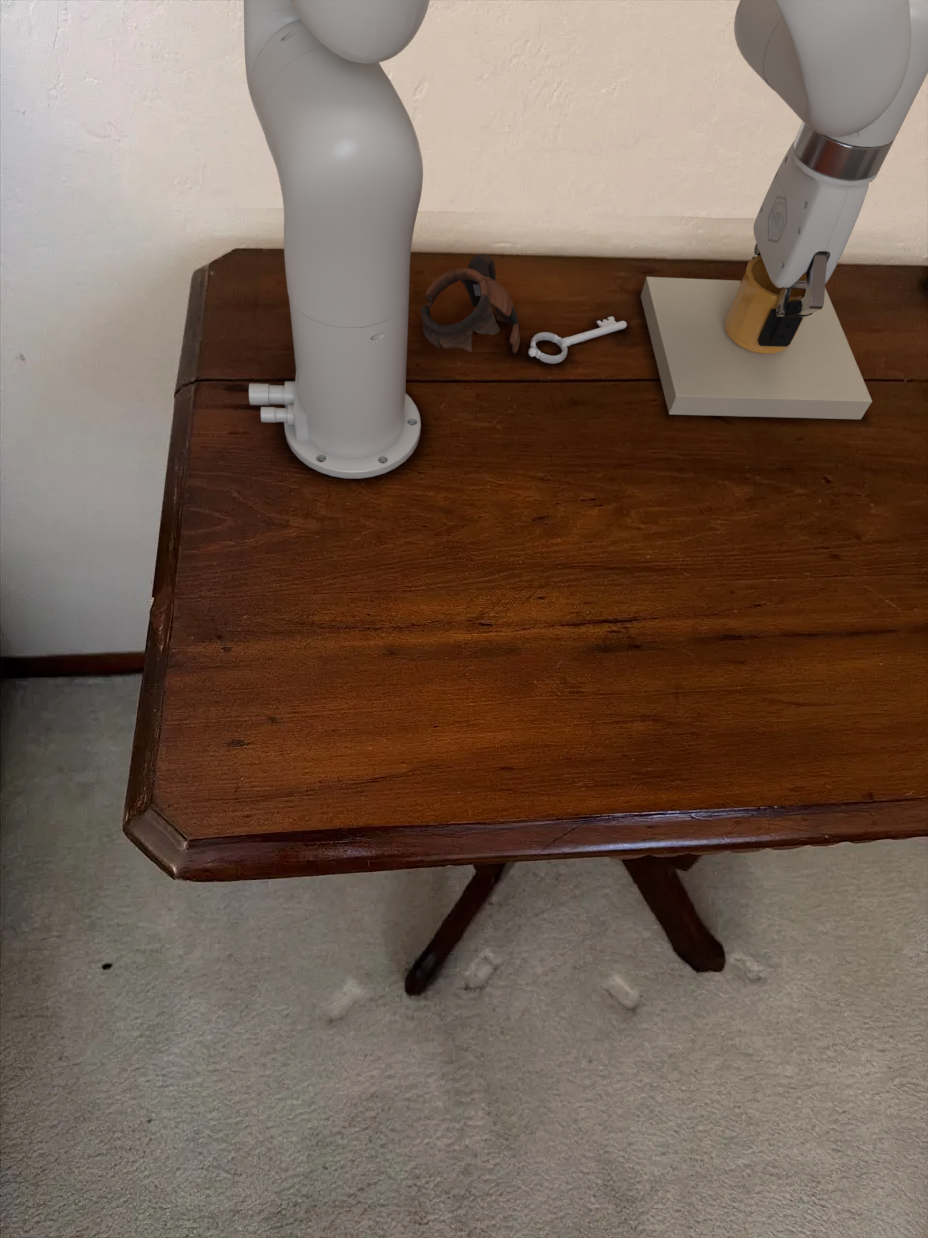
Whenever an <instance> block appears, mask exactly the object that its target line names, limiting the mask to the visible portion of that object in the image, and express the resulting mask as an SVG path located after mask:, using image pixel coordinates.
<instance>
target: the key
mask: <svg viewBox="0 0 928 1238" xmlns="http://www.w3.org/2000/svg"><path fill="white" fill-rule="evenodd" d="M596 324H597V325H598V328H595V329H590V330H587V331H584V332H580V333H577V334H572V335H571V336H566V337H563V338H562V337H561V336H558V335H557V334H555V333H553V332H548V331H543V332H542V331H541V332H538V333H536V334H535V335H533V337H531V340H530V342H529V343H530V345H529V349H528V352H527V353H528V355H529V357H530V358H534V357H535V358H537V359H539V360H540V361H541V362H543V363H546V364H552V365H553V364H558V363H562V362H563V361H564V360H565V359H566V358H567V356H568V347H570V346H571V345H576V344H578V343H582V342H585V341H588V340H591V339H595V338H598V337H600V336H605V335H608V334H611V333H614V332H617V331H620V330H624V329H625V328H626V327H627V326H628V325H627V324H628V323H627V322H626V321H625V320H619V321H616V320H615V317H614V316H608V317H607V318H606V319H602V321H601V320H596ZM541 341H549V342H551V343H555V344H556V345H557V346H558V347H560V350H561V353H559V354H555V355H552V354H551V355H550V354H547V353H544V352H542V351H541V350H539V348H538V347H537V343H538V342H541Z"/></svg>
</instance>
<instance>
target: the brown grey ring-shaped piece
mask: <svg viewBox="0 0 928 1238" xmlns="http://www.w3.org/2000/svg"><path fill="white" fill-rule="evenodd" d="M496 273H497V272H496V264H495V260H494V259H493V258H492V256H490V255H488V254H487V253H481V254H476V255H474V256H473V257H472V258H471V259H470V260H469V262H468V265H467V267H460V268H455V269H452V270H449V271H447V272H445V273H444V274H443V273H442V274H441V275H440V276H439V277H438V278H437V279H436V280H434V281H433V282H432V283H431V284H430V285H429V287H428V288H427V290H426V291H425V293H424V297H425V298H426V300H427V303H425V304H424V305H423V306H422V307H421V309H420V310H419V311H420V312H419V313H420V317H421V320H422V334H423V336H424V337H425V339H426V340H427V341H428V342H429V343H430V344H431V345H433V346H434V347H436V348H439V349H440V348H443V349H445V350H451V349H462V350H464V351H466V352H470V353H473V351H474V350H473V334H474V332H475V333H476V334H479V335H490V336H494V335H496V334H498V333H499V332H500V330H501V328H500V325H499V324H498V323H497V321H500V322H503V323H505V324H507V325H509V326H510V327H511V328H512V329H511V333H510V337H509V344H510V345H511V351H512V353H513V354H516V353H517V352H518V350H519V347H520V343H521V335H520V322H519V318H518V314H517V311H516V308H515V305H514V303H513V300H512V297H510V295H509V294H508V292H507V291H506V289H505V288H504V287H503V286H502V285H501V284H500V283H499V282H498V281H496V277H497V276H496ZM459 281H460V282H461V283H462V285H463V287H464V288H465V290H466V291H467V293H468V296H469V299H470V302H471V306H472V307H474V309H473V310H472V312H471V313H470V314H469V315H468V316H466V317H465V318H464V319H463V320H461V321H458V322H455V323H452V324H440V323H438V322H436V321H434V320H433V318H432V316H431V310H432V309H431V308H432V306H433V304H434V302H435V301H436V299H437V298H438V297H439V296H440V294H441V293H442V292H443V291H444V290H446V289H447V288H449V287H450V286H451V285H454V284H456V283H457V282H459ZM492 307H494V311H495V313H496V316H495V314H494V311H493V308H492Z"/></svg>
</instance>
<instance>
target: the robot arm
mask: <svg viewBox="0 0 928 1238" xmlns="http://www.w3.org/2000/svg"><path fill="white" fill-rule="evenodd" d="M430 1H431V0H243V33H244V34H243V39H244V40H243V41H244V42H243V43H244V46H243V47H244V64H245V76H246V84H247V88H248V89H247V90H248V94H249V96H250V100H251V103H252V106H253V109H254V111H255V114H256V116H257V119H258V122H259V125H260V127H261V129H262V132H263V135H264V138H265V141H266V145H267V147H268V150H269V152H270V154H271V155H270V156H271V157H272V160H273V163H274V165H275V168H276V172H277V177H278V180H279V185H280V191H281V197H282V205H283V256H284V271H285V279H286V290H287V296H288V302H289V303H288V304H289V312H290V314H289V315H290V323H291V332H292V333H291V334H292V343H293V344H292V345H293V353H294V354H293V355H294V363H295V379H294V380H293V381H291V380H290V381H289V380H286V381H284V385H280V384H279V385H277V384H270V383H255V382H253V383H252V382H249V384H248V401H249V402H248V403H249V405H250V406H261V407H260V421H261V423H283V426H284V427H283V428H284V435H285V438H286V439H285V440H286V443H287V444H288V446H289V448H290V450H291V452H292V453H293V454H294V455H295V456H296V457H297V458H298V460H300V461H301V462H302V463H303V464H304V465H306V466H307V467H309V468H311V469H313V470H315V471H316V472H319V473H321V474H325V475H327V476H330V477H333V478H334V477H336V478H341V479H365V478H374V477H377V476H381V475H383V474H384V475H385V474H387V473H388V472H390V471H392V470H395V469H397V468H398V467H400V466H401V465H402V464H403V463H405V462H406V461H407V460H408V459H409V458H410V457H411V456H412V455H413V453H414V452H415V450H416V448H417V447H418V444H419V440H420V437H421V430H422V429H421V428H422V425H421V423H422V422H421V416H420V412H419V409H418V407H417V405H416V403H415V402H414V400H413V398H412V397H411V396H409V394H407V392H406V390H407V389H406V388H407V387H406V386H407V362H408V361H407V360H408V359H407V358H408V336H409V335H408V333H409V309H410V308H409V307H410V306H409V305H410V274H411V273H410V272H411V257H412V256H411V254H412V245H413V236H414V230H415V226H416V220H417V217H418V213H419V207H420V202H421V198H422V191H423V182H424V165H423V156H422V151H421V146H420V142H419V139H418V136H417V133H416V130H415V127H414V125H413V122H412V120H411V117H410V115H409V113H408V110H407V109H406V107H405V104H404V102H403V101H402V99H401V98H400V96H399V94H398V92H397V90H396V88H395V87H394V85H393V83H392V81H391V79H390V77H388V75H387V73H386V72H385V70H384V69H383V67H382V66H381V64H380V63H383V62H386V61H388V60H391V59H392V58H394V57H396V56H397V55H399V54H400V53H402V51H404V50H405V49H406V48H407V47H408V46H409V45H410V43H411V42H412V41H413V40H414V38H415V37H416V35H417V33H418V32H419V31H420V28H421V26H422V24H423V21H424V20H425V17H426V15H427V12H428V9H429V5H430ZM733 32H734V33H733V34H734V40H735V43H736V46H737V48H738V50H739V52H740V54H741V56H742V58H743V59H744V60H745V62H746V63H747V64H748V66H749V67H750V68H751V69H752V70H753V71H754V73H756V75H758V76H759V78H760V79H761V80H763V82H765V84H766V85H767V86H768V87H769V88H770V89H771V90H773V91H774V92H775V93H776V94H777V95H778V96H779V97H780V99H782V100H783V102H784V103H785V104H786V105H787V106H788V107H789V108H790V109H791V110H792V111H793V113H795V115H796V116H797V117H798V118H799V119H800V120H801V122H800V126H799V128H798V130H797V133H796V136H795V139H794V140H793V142H792V143H791V144H790V146H789V148H788V150H787V151H786V153H785V155H784V156H783V159H782V161H781V163H780V164H779V166H778V168H777V170H776V172H775V175H774V176H773V179H772V180H771V183H770V185H769V187H768V190H767V192H766V193H765V196H764V199H763V201H762V203H761V205H760V208H759V210H758V212H757V215H756V217H755V220H754V223H753V236H754V239H755V242H756V243H755V245H754V248H753V249H754V250H753V252H754V256H752V257H751V260H752V259H753V258H755V257H756V256H759V255H761V257H762V259H763V262H764V265H765V267H766V270H767V273H768V275H769V277H770V279H771V281H772V283H773V284H774V285H775V286H776V287H777V288H781V289H780V294H779V299H778V303H777V308H776V309H771V311H770V313H769V316H768V318H767V320H766V322H765V324H764V327H763V329H762V331H761V333H760V335H759V338H758V344H759V345H760V346H776V347H787V346H789V345H790V343H791V341H792V339H793V337H794V335H795V333H796V331H797V329H798V327H799V325H800V323H801V321H802V319H803V318H806V317H807V316H809V315H812V314H813V313H814V312H816V311H819V310H821V309H822V308H823V305H824V295H825V288H826V285H827V283H828V281H829V280H830V278H831V276H832V275H833V273H834V271H835V270H836V267H837V266H838V264H839V261H840V259H841V257H842V255H843V254H844V251H845V248H846V246H847V244H848V243H849V240H850V237H851V235H852V233H853V230H854V228H855V226H856V223H857V220H858V218H859V215H860V214H861V210H862V207H863V204H864V202H865V199H866V196H867V193H868V190H869V187H870V185H869V184H870V183H872V182H873V181H874V180H875V179H876V177H877V176H878V174H879V172H880V170H881V168H882V166H883V164H884V162H885V160H886V158H887V156H888V154H889V151H890V150H891V147H892V146H893V144H894V142H895V140H896V138H897V136H898V134H899V132H900V130H901V128H902V126H903V123H904V121H905V120H906V117H907V116H908V113H909V112H910V110H911V108H912V106H913V104H914V102H915V100H916V97H917V95H918V93H919V91H920V89H921V87H922V85H923V83H924V81H925V79H926V77H927V76H928V0H739V2H738V4H737V8H736V11H735V15H734V23H733ZM803 274H807V277H806V281H802V280H798V279H799V278H800V277H801V276H802V275H803ZM791 289H803V293H802V297H801V300H800V301H792V302H789V298H790V293H791ZM788 302H789V303H788ZM271 405H283V406H284V407H275V406H271Z"/></svg>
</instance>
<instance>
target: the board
mask: <svg viewBox="0 0 928 1238" xmlns="http://www.w3.org/2000/svg"><path fill="white" fill-rule="evenodd" d="M740 282H741V280H737V279H736V280H734V279H733V280H732V279H712V278H711V279H710V278H709V279H708V278H687V277H686V278H685V277H660V276H646V277H645V280H644V283H643V286H642V290H641V294H640V300H641V303H642V304H641V305H642V308H643V312H644V316H645V321H646V325H647V328H648V332H649V337H650V341H651V345H652V350H653V353H654V357H655V362H656V365H657V370H658V374H659V378H660V383H661V387H662V391H663V394H664V399H665V403H666V408H667V412H668V415H670V416H671V415H673V416H675V415H677V416H711V417H713V416H714V417H748V418H750V417H751V418H753V417H755V418H790V419H791V418H792V419H795V418H796V419H830V420H831V419H833V420H862V418H863V417H864V415H865V413H866V412H867V411H868V409H869V408H870V406H871V404H872V403H873V400H872V397H871V395H870V393H869V390H868V387H867V385H866V383H865V380H864V378H863V376H862V373H861V371H860V368H859V365H858V363H857V361H856V359H855V355H854V354H853V351H852V349H851V346H850V344H849V341H848V339H847V336H846V334H845V331H844V330H843V328H842V327H843V326H842V325H841V322H840V319H839V317H838V315H837V313H836V310H835V307H834V305H833V303H832V301H831V298H830V295H829V293H828V291H827V289H826V287H825V295H824V305H823V308H822V309H821V310H819V311H816V312H814V313H813V314H812V315H809V316H807V317H806V318H804V319H803V321H802V323H801V325H800V327H799V329H798V331H797V333H796V335H795V337H794V339H793V340H792V342H791V344H790V345H789V346H788V347H787V348H786V349H785V350H783V351H781V352H778V353H772V354H763V353H757V352H753V351H750V350H747V349H745V348H743V347H741V346H740V345H738V344H737V343H735V342H734V341H733V340H732V339H731V338H730V336H729V335H728V333H727V331H726V329H725V320H726V318H727V315H728V312H729V309H730V307H731V304H732V302H733V299H734V297H735V294H736V292H737V290H738V287H739V285H740Z"/></svg>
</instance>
